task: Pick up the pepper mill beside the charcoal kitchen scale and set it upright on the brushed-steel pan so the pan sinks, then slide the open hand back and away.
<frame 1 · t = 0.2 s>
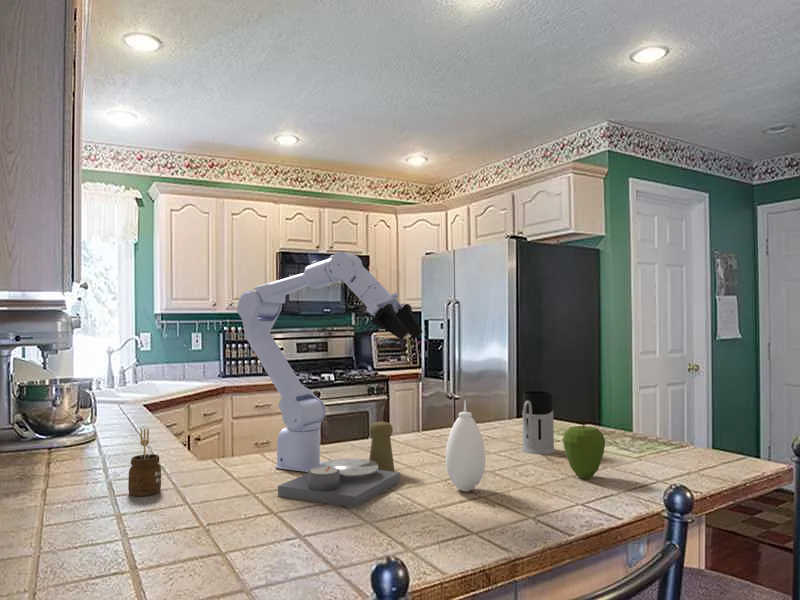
hand: (412, 335, 124), 31 cm above the worktop, tool tilted 45°, fingers open, 7 cm apart
air blower bulb: (465, 491, 116), on the worktop
utensil holder: (144, 493, 115), on the worktop
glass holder: (534, 453, 150), on the worktop
apple: (584, 478, 125), on the worktop
pepper mill: (381, 472, 130), on the worktop
scale base: (345, 486, 118), on the worktop
scale pan: (349, 467, 120), point 3 cm above the worktop, slide at 0.0 cm
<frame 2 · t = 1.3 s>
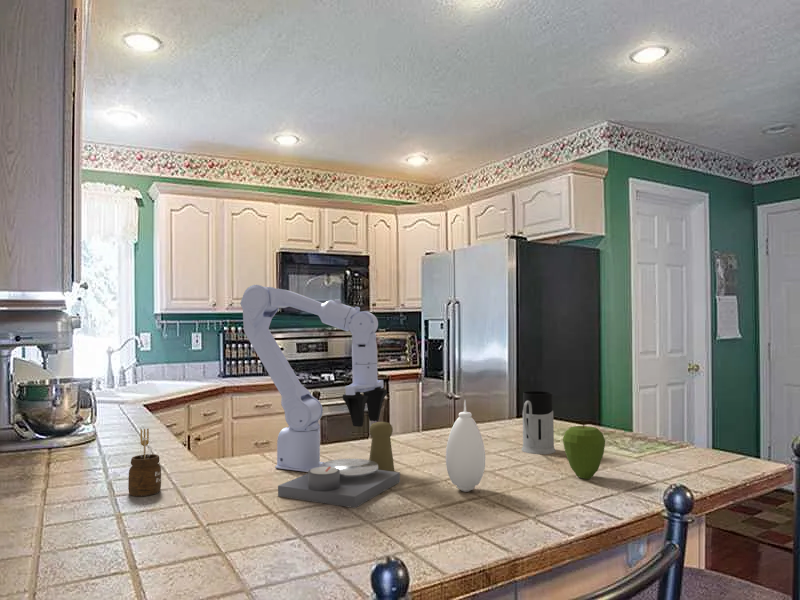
hand: (366, 423, 133), 10 cm above the worktop, tool pointing down, fingers open, 7 cm apart
nothing on the worktop moved.
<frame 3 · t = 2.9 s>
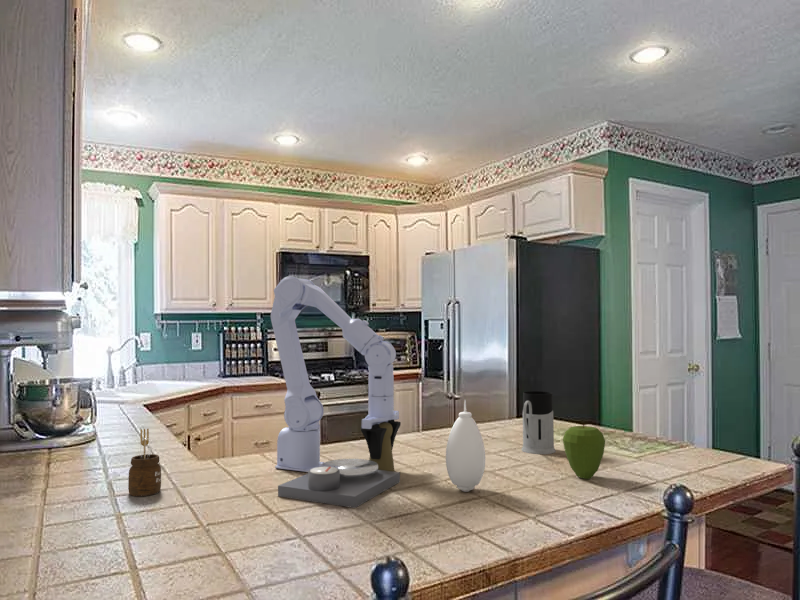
hand: (381, 456, 131), 3 cm above the worktop, tool pointing down, fingers closed on pepper mill, 5 cm apart
pepper mill: (381, 472, 130), on the worktop, touching gripper
everything else where it was.
when the fingers open (8 cm above the worktop, at t = 6.1 s): pepper mill stays where it is, resting on scale pan.
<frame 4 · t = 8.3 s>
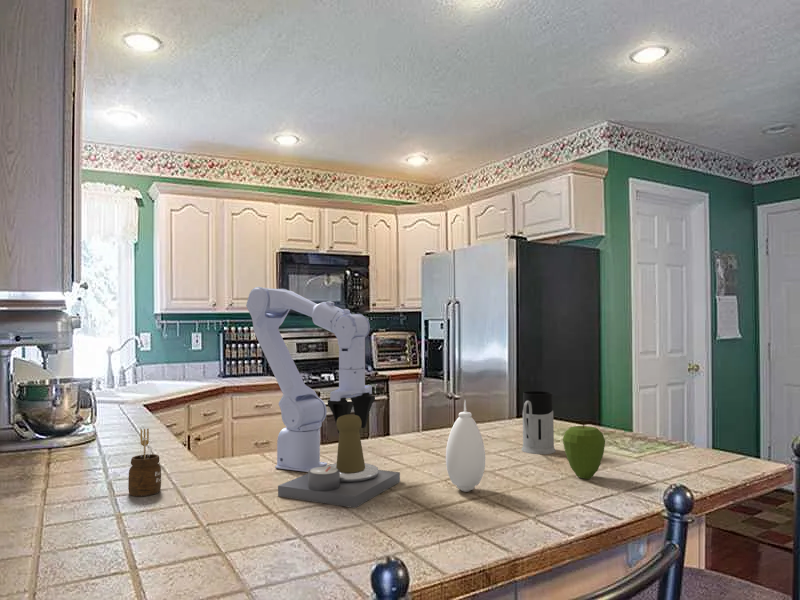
hand: (352, 430, 128), 10 cm above the worktop, tool pointing down, fingers open, 7 cm apart
pepper mill: (350, 469, 120), point 3 cm above the worktop, touching scale pan
scale pan: (349, 471, 120), point 3 cm above the worktop, slide at -0.8 cm, touching pepper mill
everything else where it was.
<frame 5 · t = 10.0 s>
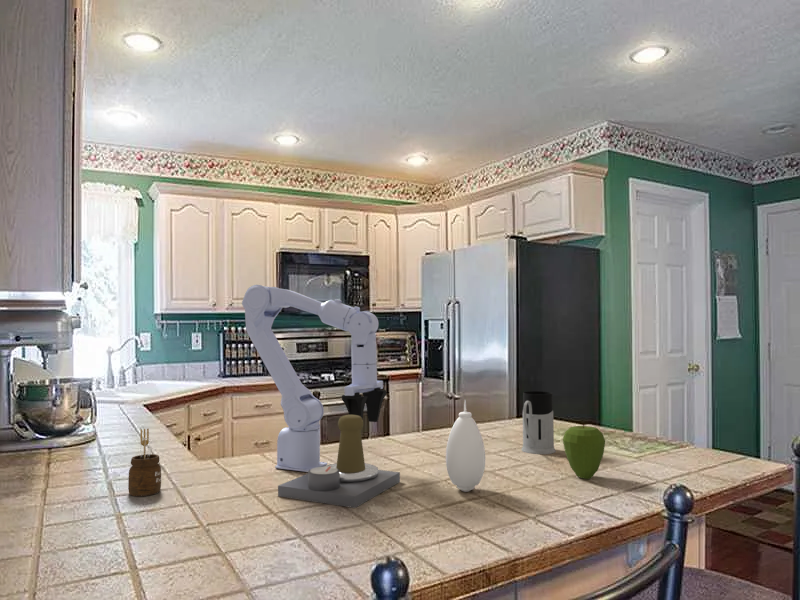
hand: (365, 424, 132), 10 cm above the worktop, tool pointing down, fingers open, 7 cm apart
nothing on the worktop moved.
at the end: pepper mill inside the target area on the scale pan (0.4 cm from its centre), point 3.8 cm above the scale pan's base; pepper mill tilted 1°; the gripper is holding nothing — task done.
